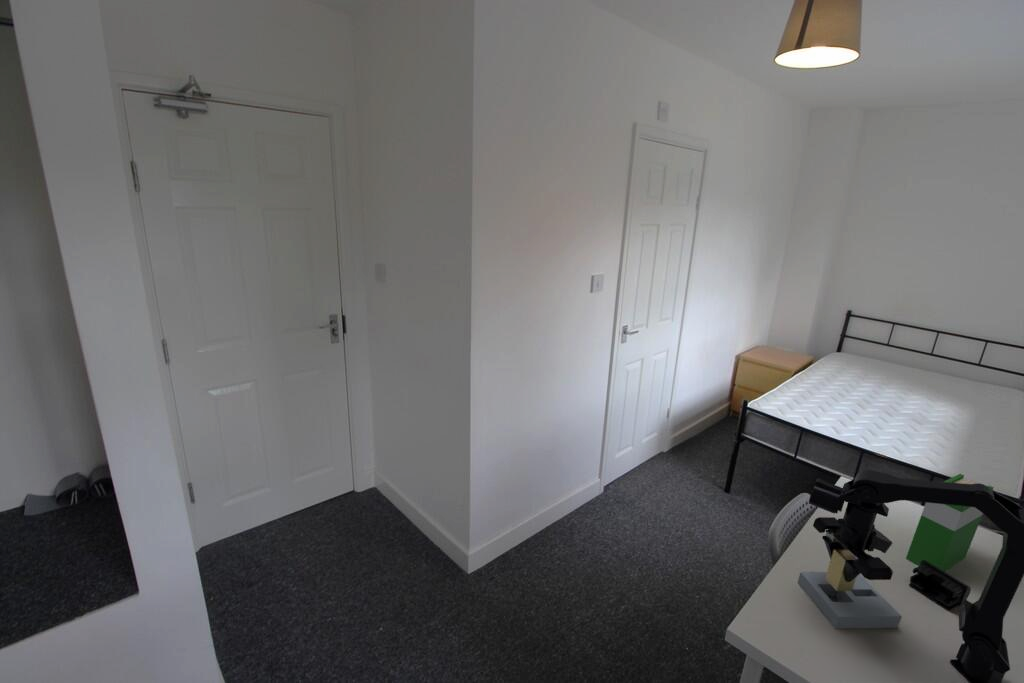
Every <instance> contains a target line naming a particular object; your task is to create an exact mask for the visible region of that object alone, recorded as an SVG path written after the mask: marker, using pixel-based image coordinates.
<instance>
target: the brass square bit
mask: <svg viewBox="0 0 1024 683" xmlns="http://www.w3.org/2000/svg"><path fill="white" fill-rule="evenodd" d="M854 558H855V556H853V555H852V554H851V553H850V552H849V551H848V550H847V549H834V551H833V554H832V557H831V560H830V561H829V564H828V567H827V571H826V572H827V574H826V578H825V579H826V580H827V581H828V582H829V583H830V584H831V585H832V587H833V588H834V589H835V590H836V591H852V589H853V586H854V583H855V580H856V578H854V579H853V580H852V581H851V582H846V581H845V560H853V559H854Z"/></svg>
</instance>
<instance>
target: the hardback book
mask: <svg viewBox="0 0 1024 683" xmlns="http://www.w3.org/2000/svg"><path fill="white" fill-rule="evenodd" d="M964 477H965V474H962V473H959V474H957V475H954V476H952V477H951V478H948V479H946V480H944V481H943V482H949V483H962V484H977V483H976V482H973V481H972V480H969V479H966V478H964ZM987 486H988V487H989V488H990V489H992V490H993V491H994V486H991V485H987ZM923 506H924V507H923V510H922V513H921V516H920V518H919V521H918V523H917V526H916V529H915V532H914V534H913V537H912V541H911V542H910V546H909V548H908V551H907V554H906V557H905V560H907V561H909V562H910V563H912V564H914V565H915V566H916V567H918V566H920V563H921V561H922V560H926V561H927V562H929V563H931V564H932V565H934V566H936V567H938V568H939V569H941V570H943V571H944V572H946V571H947V570H949V569H950V568H952V567H954V566H955V565H956V564H958V563H959V562H961V561H962V560H964V559H966V557H967V554H968V552H969V550H970V547H971V544H972V542H973V540H974V537H975V534H976V532H977V531H978V530H977V529H978V527H979V525H980V522H981V519H982V517H983V515H984V514H983V513H982V512H981V511H979V510H978V509H977V508H975V507H966V506H956V505H946V504H936V503H926V502H925V505H923Z"/></svg>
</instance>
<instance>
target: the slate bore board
mask: <svg viewBox="0 0 1024 683" xmlns="http://www.w3.org/2000/svg"><path fill="white" fill-rule="evenodd" d="M826 574H827V571H800V572H799V575H798V580H797V584H798V585H799V587H800V588H801V589H802V590H803V591H804V593H805V594H806V596H808V597H809V599H810V600H811V601H812V602H813V603H814V605H815V606H816V607H817V608H818V610H819V611H820V612H821V613H822V615H823V616H824V617H825V618H826V619H827V621H828V622H829V623H830V624H831V626H832V627H833V629H871V628H872V629H881V628H882V629H886V628H887V629H891V628H892V629H894V628H895V629H896V628H899V625H900V622H901V621H902V620H901V619H902V615H901V614H900V613H899V612H898V610H896V609H895V608H894V607H893V606H892V604H890V603H889V601H887V600H886V599H885V598H884V596H882V594H880V592H878V591H877V590H876V589H875V588H874V587H873V586H872V585H871V584H870V583H869V582H868V581H867V579H866V578H865V577H864V576H863V575H862V574H861V573H860V574H859V575H858V576H857V577H856V580H855V583H854V586H853V589H852V591H836V590H835V589H834V588H833V587H832V585H831V584H830V583H829V582H828V581H827V580H826V579H825V578H826ZM829 596H835V598H836V599H838V601H832V599H831V598H830V597H829Z"/></svg>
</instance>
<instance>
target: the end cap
mask: <svg viewBox="0 0 1024 683" xmlns="http://www.w3.org/2000/svg"><path fill="white" fill-rule="evenodd" d="M912 573H913V575H912V576H910V577H909V578H910V579H909V584H908V586H909V588H911V589H913V590H914V591H916V592H917V593H919V594H921V595H922V596H924V597H925V598H927V600H928V599H929V601H931V602H933V603H934V604H936V605H938V606H939V607H941V608H943V609H944V610H945V611H948V612H950V611H952V610H954V609H955V608H958V607H960V606H962V605H964V600H967V599H968V598H969V596H970V594H971V591H972V589H971V587H970V585H968V584H966V583H964V582H963V581H961V580H960V579H958V578H956V577H954V576H953V575H951V574H950V573H948V572H946V571H945V572H944V571H943V570H941V569H939V568H938V567H936V566H934V565H932V564H931V563H929V562H927V561H926V560H922V561H921V563H920V566H916V567H914V568H913V569H912Z"/></svg>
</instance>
